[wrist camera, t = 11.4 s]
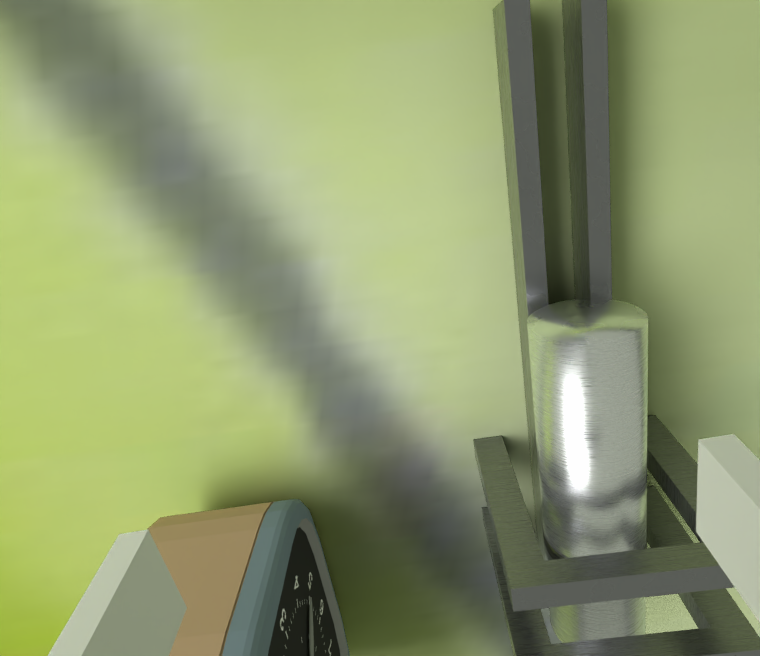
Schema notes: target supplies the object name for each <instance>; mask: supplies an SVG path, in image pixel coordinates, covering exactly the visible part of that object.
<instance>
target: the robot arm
mask: <svg viewBox="0 0 760 656" xmlns="http://www.w3.org/2000/svg"><path fill="white" fill-rule="evenodd" d="M696 532H697V534H698V535H699V537H700V538H701V539H702V541H703V542H704V544H705V545H706V547H707V548H708V550H709V551H710V552H711V554H712V555H713V557H714V558H715V560H716V561H717V562H718V564H719V565H720V567H721V568H722V570H723V571H724V572H725V574H726V575H727V577H728V578H729V580H730V581H731V583H732V584H733V585H734V587H735V588H736V590H737V591H738V593H739V594H740V595H741V597H742V598H743V600H744V601H745V603H746V604H747V606H748V607H749V608H750V610H751V611H752V613H753V614H754V616H755V617H756V618H757V620H758V621H759V623H760V460H759V459H758V458H757V457H756V456H755V455H754V454H753V453H752V452H751V451H750V450H749V449H748V448H747V447H746V446H745V445H744V444H743V443H742V442H741V441H740V440H739V439H738V438H737V437H736V436H735V435H734V434H729V435H723V436H717V437H711V438H705V439H698V473H697V514H696ZM186 609H187V607H186V605H185V603H184V601H183V599H182V596H181V594H180V592H179V590H178V588H177V586H176V584H175V582H174V580H173V578H172V576H171V574H170V572H169V570H168V568H167V566H166V564H165V562H164V560H163V558H162V556H161V554H160V552H159V550H158V548H157V546H156V544H155V542H154V540H153V538H152V536H151V534H150V532H149V530H142V531H136V532H130V533H124V534H119V535H118V537H117V539H116V541H115V542H114V544H113V546H112V547H111V549H110V551H109V552H108V554H107V556H106V558H105V559H104V561H103V563H102V564H101V566H100V568H99V569H98V571H97V573H96V574H95V576H94V578H93V580H92V581H91V583H90V585H89V586H88V588H87V590H86V591H85V593H84V595H83V597H82V598H81V600H80V602H79V603H78V605H77V607H76V608H75V610H74V612H73V614H72V615H71V617H70V619H69V620H68V622H67V624H66V625H65V627H64V629H63V631H62V632H61V634H60V636H59V637H58V639H57V641H56V642H55V644H54V646H53V648H52V649H51V651H50V653H49V654H48V656H169V654H170V651H171V649H172V646H173V643H174V641H175V638H176V635H177V633H178V630H179V627H180V625H181V622H182V619H183V617H184V614H185V612H186Z"/></svg>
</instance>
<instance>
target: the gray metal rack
mask: <svg viewBox="0 0 760 656" xmlns="http://www.w3.org/2000/svg"><path fill="white" fill-rule="evenodd" d="M562 5H563V28H564V52H565V75H566V98H567V121H568V145H569V168H570V191H571V214H572V238H573V261H574V284H575V299H587V298H599V299H612V273H611V214H610V156H609V97H608V39H607V0H562ZM493 16H494V28H495V40H496V52H497V64H498V76H499V88H500V100H501V112H502V124H503V136H504V148H505V159H506V171H507V183H508V195H509V207H510V219H511V231H512V243H513V255H514V267H515V279H516V291H517V303H518V315H519V327H520V339H521V351H522V362H523V374H524V386H525V398H526V410H527V422H528V434H529V446H530V458H531V470H532V482H533V494H534V506H535V518H536V530H537V538H536V535H535V532H534V529H533V526H532V523H531V520H530V517H529V514H528V511H527V508H526V505H525V502H524V500H523V497H522V494H521V491H520V488H519V485H518V482H517V479H516V476H515V473H514V470H513V467H512V464H511V461H510V458H509V455H508V452H507V450H506V447H505V444H504V441H503V438H502V436H496V437H489V438H481V439H474V440H473V441H474V449H475V457H476V461H477V465H478V469H479V473H480V477H481V482H482V486H483V490H484V494H485V498H486V502H487V506H488V507H482V512H483V520H484V526H485V530H486V535H487V539H488V543H489V548H490V552H491V557H492V561H493V566H494V570H495V574H496V579H497V583H498V588H499V592H500V597H501V601H502V605H503V610H504V614H505V619H506V623H507V628H508V632H509V636H510V641H511V645H512V650H513V654H514V656H760V637H759V636H758V634H757V633H756V632H755V630H754V629H753V627H752V626H751V624H750V623H749V621H748V620H747V619H746V617H745V616H744V614H743V613H742V611H741V610H740V609H739V607H738V606H737V604H736V603H735V601H734V600H733V599H732V597H731V596H730V594H729V593H728V591H727V590H726V588H732V587H734V585H733V584H732V583H731V581H730V580H729V578H728V577H727V575H726V574H725V572H724V571H723V570H722V568H721V567H720V565H719V564H718V562H717V561H716V560H715V558H714V557H713V555H712V554H711V552H710V551H709V550H708V548H707V547H706V545H705V544H704V542H703V541H702V539H701V538H700V537H699V535H698V534H697V532H696V514H697V473H698V464H697V463H696V462H695V461H694V460H693V458H692V457H691V456H690V455H689V454H688V453H687V452H686V450H685V449H684V448H683V447H682V446H681V445H680V443H679V442H678V441H677V440H676V439H675V438H674V436H673V435H672V434H671V433H670V432H669V431H668V429H667V428H666V427H665V426H664V425H663V424H662V422H661V421H660V420H659V419H658V418H657V417H656V415H652V416H647V468H648V470H649V471H650V472H651V474H652V475H653V477H654V478H655V479H656V481H657V482H658V484H659V485H660V486H661V488H662V489H663V491H664V492H665V493H666V495H667V496H668V498H669V499H670V500H671V502H672V503H673V505H674V506H675V507H676V509H677V510H678V512H679V513H680V514H681V516H682V517H683V519H684V520H685V521H686V523H687V524H688V526H689V527H690V529H691V530H692V531H693V533H694V534H695V536H696V537H697V538H698V540H699V541H700V543H693V541H692V540H691V538H690V537H689V535H688V534H687V533H686V531H685V530H684V528H683V527H682V525H681V524H680V522H679V521H678V520H677V518H676V517H675V515H674V514H673V512H672V511H671V510H670V508H669V507H668V505H667V504H666V502H665V501H664V500H663V498H662V497H661V495H660V494H659V492H658V491H657V489H656V488H655V487H654V486H650V487H647V525H646V534H647V542H648V544H649V545H650V547H651V548H649V549H640V550H632V551H623V552H615V553H606V554H597V555H589V556H580V557H572V558H563V559H554V560H545V550H544V540H543V521H542V508H541V496H540V483H539V470H538V457H537V444H536V431H535V419H534V406H533V393H532V380H531V367H530V354H529V341H528V329H527V319H528V317H529V316H530V315H531V314H532V313H533V312H534V311H536V310H538V309H539V308H542V307H544V306H547V305H548V289H547V273H546V257H545V240H544V224H543V208H542V192H541V176H540V160H539V144H538V128H537V111H536V95H535V79H534V63H533V47H532V31H531V15H530V0H502V1H501V2H500V3H499V4H498V5H497V6H496V7H495V8H494V9H493ZM669 594H679V596H680V598H681V600H682V601H683V603H684V605H685V606H686V608H687V610H688V611H689V613H690V615H691V616H692V618H693V620H694V621H695V623H696V625H697V627H698V628H699V629H692V630H682V631H673V632H663V633H654V634H644V635H635V636H625V637H616V638H606V639H596V640H587V641H577V642H568V643H558V644H551V643H550V639H549V636H548V633H547V629H546V626H545V623H544V619H543V616H542V613H541V608H550V607H560V606H569V605H578V604H587V603H596V602H605V601H614V600H623V599H632V598H641V597H650V596H660V595H669Z"/></svg>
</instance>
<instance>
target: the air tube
mask: <svg viewBox="0 0 760 656" xmlns="http://www.w3.org/2000/svg"><path fill="white" fill-rule="evenodd" d="M527 329H528V341H529V354H530V367H531V380H532V393H533V406H534V419H535V431H536V444H537V457H538V470H539V483H540V496H541V508H542V521H543V540H544V550H545V560H554V559H563V558H572V557H580V556H589V555H597V554H606V553H615V552H623V551H632V550H640V549H647V534H646V525H647V405H648V315H647V313H646V312H645V311H644V310H643V309H641V308H640V307H638V306H636V305H633V304H630V303H627V302H623V301H618V300H612V299H599V298H587V299H574V300H567V301H561V302H557V303H553V304H549V305H547V306H544V307H542V308H539V309H538V310H536V311H534V312H533V313H532V314H531V315H530V316H529V317H528V319H527ZM549 611H550V621H551V625H552V628H553V630H554V632H555V634H556V635H557V636H558V638H559V639H560V640H561V641H562V642H563V643H568V642H577V641H587V640H596V639H606V638H616V637H625V636H635V635H644V634H645V632H646V597H641V598H632V599H623V600H614V601H605V602H596V603H587V604H578V605H569V606H560V607H550V608H549Z"/></svg>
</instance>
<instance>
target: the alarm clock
mask: <svg viewBox="0 0 760 656" xmlns="http://www.w3.org/2000/svg"><path fill="white" fill-rule="evenodd" d="M147 530H149V532H150V534H151V536H152V538H153V540H154V542H155V544H156V546H157V548H158V550H159V552H160V554H161V556H162V558H163V560H164V562H165V564H166V566H167V568H168V570H169V572H170V574H171V576H172V578H173V580H174V582H175V584H176V586H177V588H178V590H179V592H180V594H181V596H182V599H183V601H184V603H185V605H186V607H187V609H186V612H185V614H184V617H183V619H182V622H181V625H180V627H179V630H178V633H177V635H176V638H175V641H174V643H173V646H172V649H171V651H170V654H169V656H350V655H349V649H348V644H347V640H346V635H345V631H344V626H343V622H342V617H341V614H340V610H339V607H338V603H337V599H336V596H335V592H334V589H333V585H332V582H331V578H330V575H329V571H328V567H327V564H326V560H325V557H324V553H323V549H322V546H321V542H320V539H319V536H318V533H317V530H316V527H315V525H314V522H313V519H312V516H311V514H310V511H309V509H308V508H307V507H306V506H305V505H304V504H303V503H302V502H301V501H300V500H299V499H290V500H283V501H275V502H268V503H261V504H254V505H246V506H239V507H232V508H224V509H217V510H210V511H203V512H195V513H188V514H181V515H174V516H167V517H161V518H159V519H158V520H157V521H156V522H155V523H153V524H152V525H151V526H150V527H149V528H148V529H147Z"/></svg>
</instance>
